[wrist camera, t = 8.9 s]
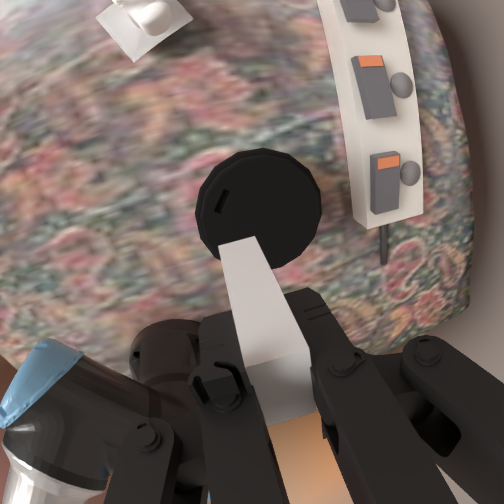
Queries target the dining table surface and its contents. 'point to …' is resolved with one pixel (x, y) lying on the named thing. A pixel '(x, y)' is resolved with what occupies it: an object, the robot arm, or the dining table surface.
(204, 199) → the coffee cup
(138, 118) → the dining table surface
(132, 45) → the figurine
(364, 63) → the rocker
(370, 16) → the grey flat rectangular block
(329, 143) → the dining table surface
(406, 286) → the dining table surface
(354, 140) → the power strip
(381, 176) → the rocker
